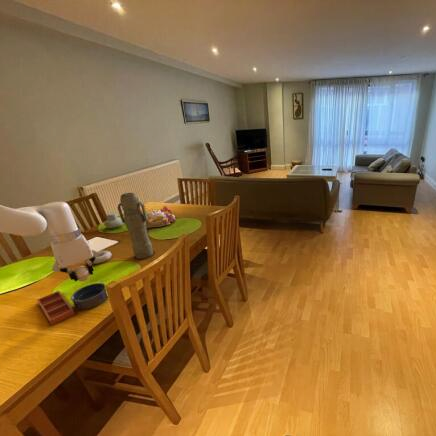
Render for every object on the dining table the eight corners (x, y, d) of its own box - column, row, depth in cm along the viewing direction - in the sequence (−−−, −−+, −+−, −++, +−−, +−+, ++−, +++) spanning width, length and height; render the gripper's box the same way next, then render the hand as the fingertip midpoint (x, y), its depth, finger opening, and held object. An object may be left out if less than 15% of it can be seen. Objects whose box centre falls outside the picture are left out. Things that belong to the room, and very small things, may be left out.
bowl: (80, 314, 92) (76, 305, 90) (71, 302, 98) (67, 293, 96) (113, 298, 100) (110, 289, 98) (103, 288, 106) (100, 279, 104)
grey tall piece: (155, 257, 130) (139, 195, 117) (130, 260, 127) (110, 197, 113) (158, 249, 138) (143, 190, 124) (134, 252, 134) (116, 192, 121)
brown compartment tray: (51, 325, 87) (49, 321, 86) (39, 303, 97) (36, 299, 96) (75, 314, 92) (73, 309, 91) (60, 294, 102) (58, 290, 102)
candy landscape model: (178, 224, 171) (175, 212, 167) (140, 232, 159) (136, 219, 156) (173, 213, 190) (171, 202, 187) (139, 219, 179) (136, 208, 175)
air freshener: (126, 225, 169) (122, 212, 165) (115, 230, 162) (111, 216, 158) (114, 223, 172) (110, 210, 168) (103, 228, 165) (99, 214, 161)
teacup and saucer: (88, 243, 145) (85, 237, 143) (97, 245, 142) (95, 239, 141) (71, 250, 137) (69, 244, 136) (81, 252, 135) (78, 246, 133)
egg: (79, 285, 92) (73, 271, 90) (76, 281, 95) (70, 267, 92) (93, 279, 96) (88, 265, 93) (89, 275, 98) (84, 262, 96)
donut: (98, 255, 132) (84, 265, 123) (96, 249, 131) (82, 259, 122) (116, 254, 133) (104, 264, 123) (114, 249, 131) (102, 258, 122)
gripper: (90, 225, 96) (104, 263, 103) (31, 241, 83) (52, 284, 90) (97, 229, 92) (111, 269, 99) (36, 248, 79) (58, 292, 86)
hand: (83, 276), depth 94 cm, fingers closed on egg, 4 cm apart
